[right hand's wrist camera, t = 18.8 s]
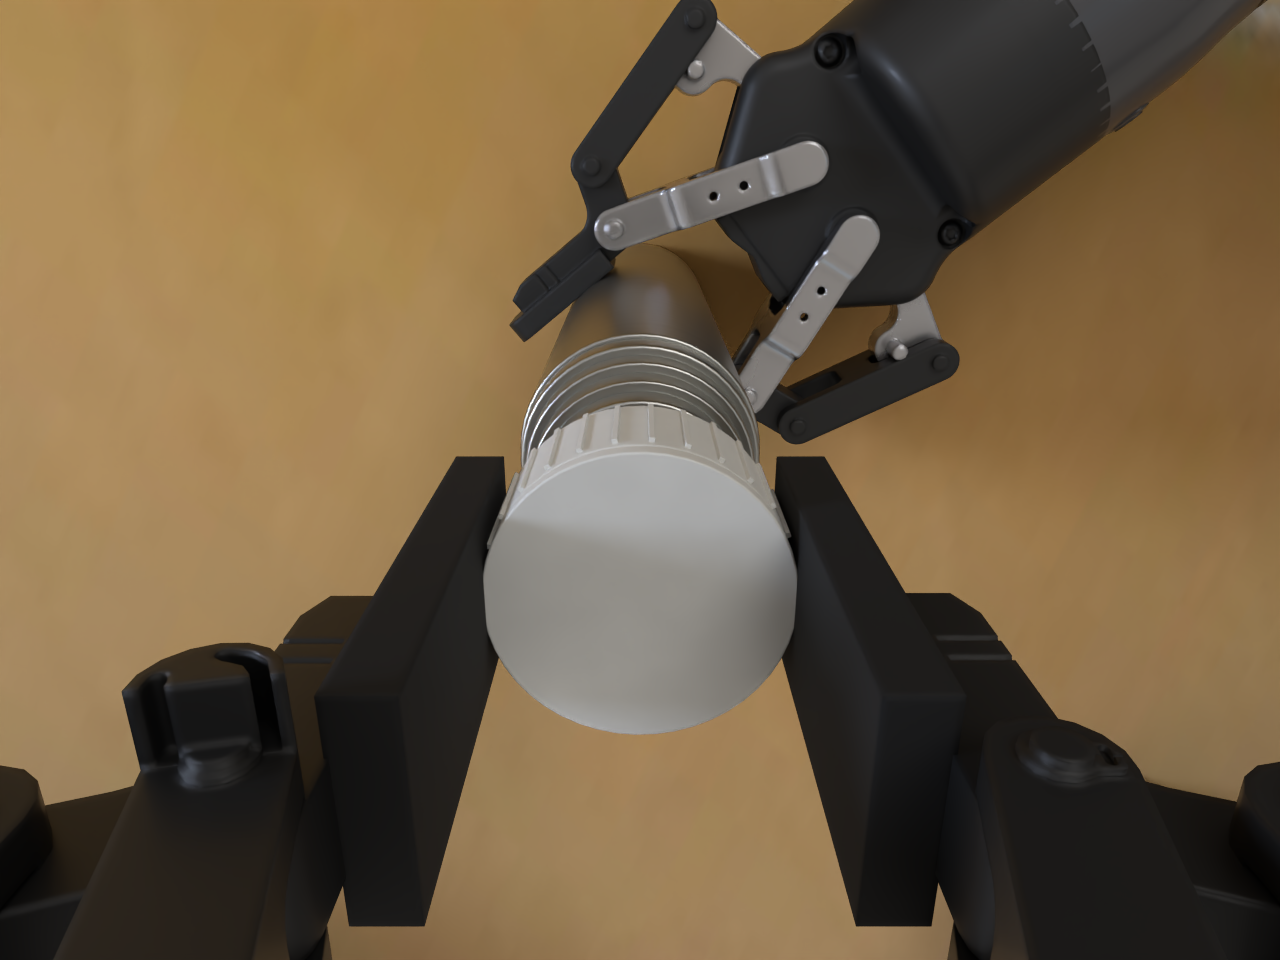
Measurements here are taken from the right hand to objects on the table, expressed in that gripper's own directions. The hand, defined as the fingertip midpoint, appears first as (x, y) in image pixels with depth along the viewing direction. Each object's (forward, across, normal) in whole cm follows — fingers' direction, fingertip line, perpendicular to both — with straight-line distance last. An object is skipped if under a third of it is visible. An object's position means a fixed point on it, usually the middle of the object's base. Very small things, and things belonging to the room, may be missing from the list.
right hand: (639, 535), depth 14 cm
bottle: (+22, 0, 0) cm, 22 cm away
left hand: (+15, -2, -2) cm, 15 cm away
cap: (-2, 0, 0) cm, 2 cm away
